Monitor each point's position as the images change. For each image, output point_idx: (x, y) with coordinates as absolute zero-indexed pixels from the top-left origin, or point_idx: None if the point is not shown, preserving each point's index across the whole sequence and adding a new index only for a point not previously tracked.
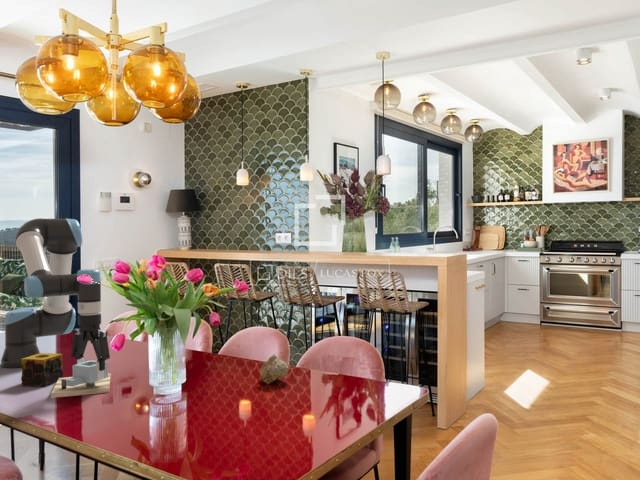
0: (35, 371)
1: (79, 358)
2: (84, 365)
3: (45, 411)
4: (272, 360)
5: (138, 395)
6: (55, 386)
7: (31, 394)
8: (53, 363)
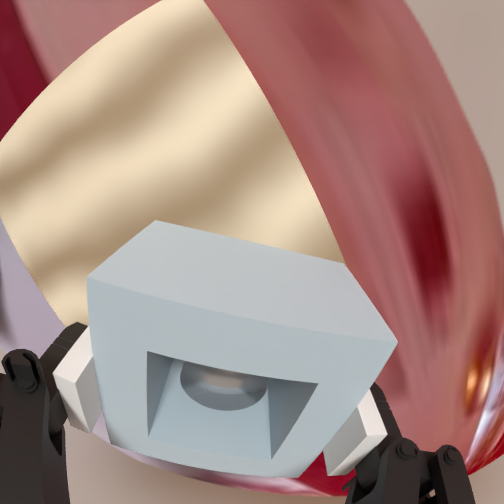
0: None
1: (62, 414)
2: (214, 458)
3: None
4: None
5: (476, 306)
6: (55, 308)
7: (35, 337)
8: None
